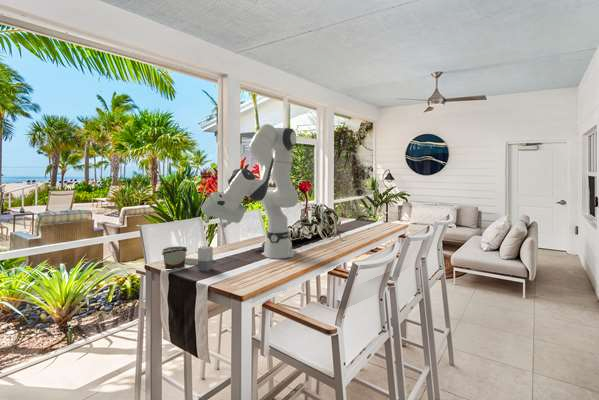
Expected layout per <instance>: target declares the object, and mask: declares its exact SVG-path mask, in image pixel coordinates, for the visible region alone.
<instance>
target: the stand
mask: <svg viewBox="0 0 599 400" xmlns="http://www.w3.org/2000/svg"><path fill="white" fill-rule="evenodd" d="M185 263H187V264H186V265H195V266H196V265H197V266H198V252H193V253H191V254H188V255H186V258H185Z"/></svg>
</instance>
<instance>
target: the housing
mask: <svg viewBox="0 0 599 400" xmlns="http://www.w3.org/2000/svg"><path fill="white" fill-rule="evenodd" d="M213 249H214V248H213V246H205V245H203V246H201V247H198V248H197V253H198V265H197V267H198V268H197V269H198V270H197V271H198V272H209V271H212V270H213V269H214V261H213V259H214V256H213V254H214V253H213Z"/></svg>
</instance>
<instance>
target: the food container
mask: <svg viewBox="0 0 599 400" xmlns="http://www.w3.org/2000/svg"><path fill="white" fill-rule="evenodd" d="M187 252H188V249H187V247H186V246H170V247H165V248H163V249H162V252H161V255H162V256H163V263H164V268H165V269H174V270H176V269H175V268H179V269H182V268H181V267H184V268H185V267H186V264H185V258H186V256H187V255H186V254H187ZM165 269H164V270H165Z"/></svg>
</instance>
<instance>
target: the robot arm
mask: <svg viewBox="0 0 599 400" xmlns="http://www.w3.org/2000/svg"><path fill="white" fill-rule="evenodd" d="M296 142H297V134H296V131H295V130H294V128H293V129H292V128H290V127H274V125H272V124H269V123H268V124H267V123H266V124H265V123H264V124H262V125H261V126H260V127H259V128H258V129H257V130H256V132H255V133H254V135H253V136H252V138H251V141H250V142H249V146H248V147H249V152H250V154H251V156H252V158H254V159H255V161H256V162H257V163H258V164H259V165H260V168H261V173H260V177H259V179H258V178H257V177H256V175H255V174H254V172H253V171H251V170H249V169H247V168H237V169H234V170H233V171H232V173H231V176H229V178H228V179H227V183H228V188H227V189H225V191H221V192H220V191H213V192H211V194H210V197H207V199H206V200H205V201H204V202H203V204H202V206H201V207H200V209H201V213H202V214H203V215H205V219H204V220H203V222H204V223H205V224H209V223H210V218H211V217H213V218H216V219H221V220H224V221H225V222H222V224H221V227H222V228H225V229H226V228H227V227H228V226H229V225H231V224H232V223H234V224H238V223H240V222H241V221H242V219H243V217H244V215H245V213H246V212H247V206H245V205H242V202H243V201H244V198H245V197H248V199H250V200H251V201H252V202H259V204H261V206H262V207H263V208H264V210H265V213H266V217H267V231H266V239H265V240H264V248H263V251H262V252H261V255H262V256H264V257H265V258H268V259H269V258H270V259H285V258H294V256H295V254H296V252H295V251H296V249H293V243H292V241H291V240H290V238H289V234H290V230H288V217H287V216H286V214H285V213H284V212H283V211H282V209H281V208H285V209H288V208H294V207H295V206H297V204H298V202H299V193H298V191H296V189H295V188H294V187H293V184H292V180H291V168H292V167H291V166H292V149H293V148H294V146H295V145H296V144H297V143H296ZM272 149H273V151H272ZM270 178H271V179H273V181H275V185H276V186H275V187H273V186H271V187H270V186H269V182H270Z"/></svg>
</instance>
